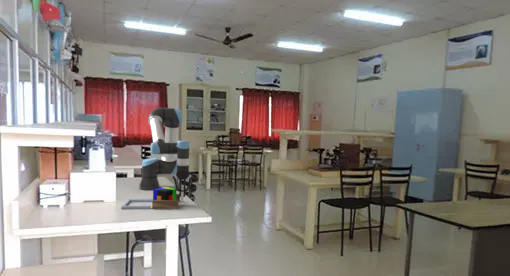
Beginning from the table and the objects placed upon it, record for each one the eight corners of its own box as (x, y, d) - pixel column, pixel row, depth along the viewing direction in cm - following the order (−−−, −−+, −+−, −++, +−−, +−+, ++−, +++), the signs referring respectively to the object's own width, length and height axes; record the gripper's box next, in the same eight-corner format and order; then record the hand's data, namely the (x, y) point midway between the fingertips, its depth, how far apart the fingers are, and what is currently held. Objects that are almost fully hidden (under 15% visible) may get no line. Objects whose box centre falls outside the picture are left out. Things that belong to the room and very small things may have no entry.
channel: (156, 201, 212) (156, 193, 212) (179, 201, 215) (180, 193, 214) (152, 208, 194) (152, 200, 194) (177, 208, 196) (177, 200, 196)
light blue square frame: (128, 201, 209) (128, 199, 209) (154, 201, 212) (154, 199, 212) (121, 208, 191) (121, 206, 191) (150, 208, 194) (150, 206, 194)
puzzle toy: (152, 205, 202) (153, 189, 201) (164, 202, 211) (164, 186, 210) (165, 207, 197) (165, 191, 197) (176, 204, 206) (176, 188, 206)
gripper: (171, 165, 200) (171, 203, 201) (193, 165, 202) (192, 203, 203) (172, 164, 207) (172, 200, 208) (193, 164, 210) (192, 200, 211)
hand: (182, 201), depth 206 cm, fingers closed
